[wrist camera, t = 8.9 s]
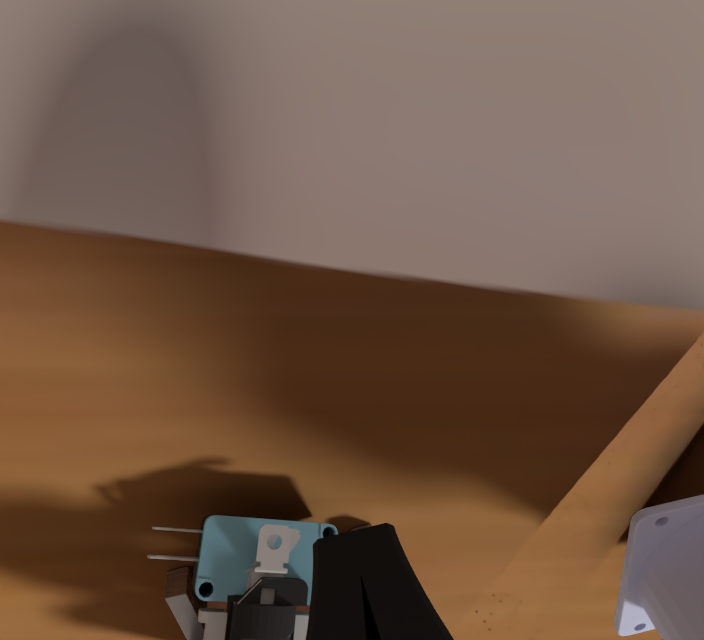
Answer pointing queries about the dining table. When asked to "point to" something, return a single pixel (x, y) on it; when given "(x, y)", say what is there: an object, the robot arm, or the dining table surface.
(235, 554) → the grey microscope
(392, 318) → the dining table surface
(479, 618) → the dining table surface
